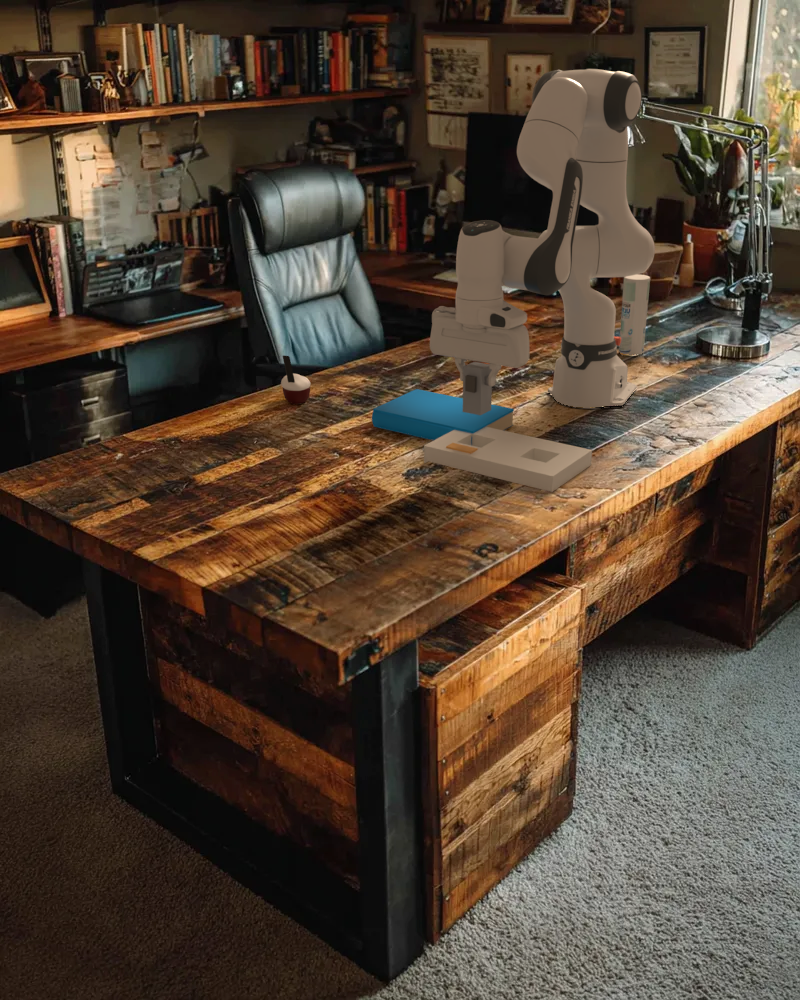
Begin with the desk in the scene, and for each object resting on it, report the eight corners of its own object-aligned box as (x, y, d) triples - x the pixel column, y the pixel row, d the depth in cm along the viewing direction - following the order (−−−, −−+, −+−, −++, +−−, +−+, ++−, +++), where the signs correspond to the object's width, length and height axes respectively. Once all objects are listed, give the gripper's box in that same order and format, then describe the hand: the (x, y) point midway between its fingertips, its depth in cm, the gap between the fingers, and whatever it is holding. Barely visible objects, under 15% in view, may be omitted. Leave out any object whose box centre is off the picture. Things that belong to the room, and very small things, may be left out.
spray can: (648, 355, 281) (654, 278, 273) (625, 357, 279) (631, 280, 271) (636, 349, 287) (642, 273, 279) (614, 351, 285) (619, 275, 277)
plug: (473, 406, 213) (474, 361, 209) (491, 410, 211) (492, 364, 207) (460, 412, 209) (461, 367, 206) (478, 416, 207) (479, 370, 204)
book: (415, 388, 242) (514, 406, 229) (416, 407, 244) (514, 426, 231) (370, 409, 229) (472, 430, 216) (371, 429, 231) (472, 450, 218)
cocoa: (300, 396, 254) (298, 345, 250) (320, 400, 250) (318, 349, 246) (271, 404, 247) (268, 352, 243) (290, 409, 243) (288, 356, 239)
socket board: (467, 441, 224) (467, 421, 223) (590, 469, 210) (592, 448, 208) (424, 464, 212) (423, 444, 211) (551, 496, 198) (552, 474, 196)
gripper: (423, 307, 206) (423, 378, 211) (518, 321, 195) (515, 395, 200) (441, 301, 211) (440, 371, 216) (535, 314, 200) (532, 387, 205)
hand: (477, 382), depth 208 cm, fingers closed on plug, 4 cm apart
